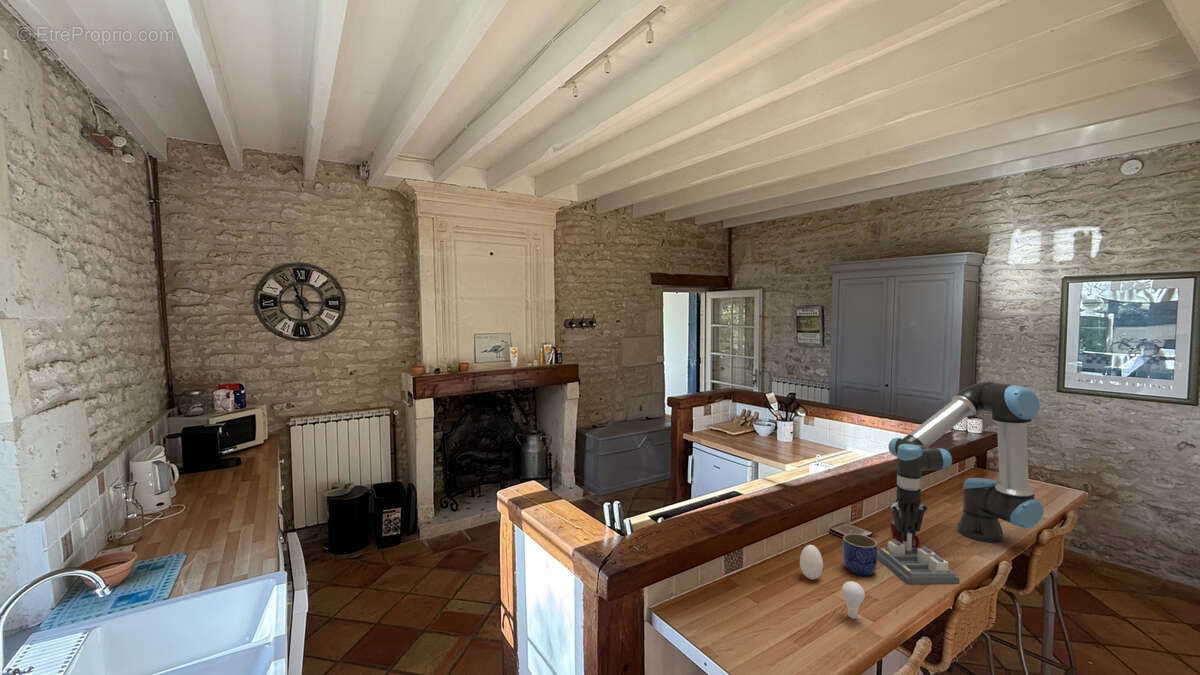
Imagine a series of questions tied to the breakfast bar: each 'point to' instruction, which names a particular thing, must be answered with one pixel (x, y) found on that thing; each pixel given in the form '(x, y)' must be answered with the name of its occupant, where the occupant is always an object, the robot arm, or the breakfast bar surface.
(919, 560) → the tab
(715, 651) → the breakfast bar surface
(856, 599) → the lightbulb
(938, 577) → the switch bank
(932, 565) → the white and grey block
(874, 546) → the planter
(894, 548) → the tab
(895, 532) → the mug
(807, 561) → the egg
